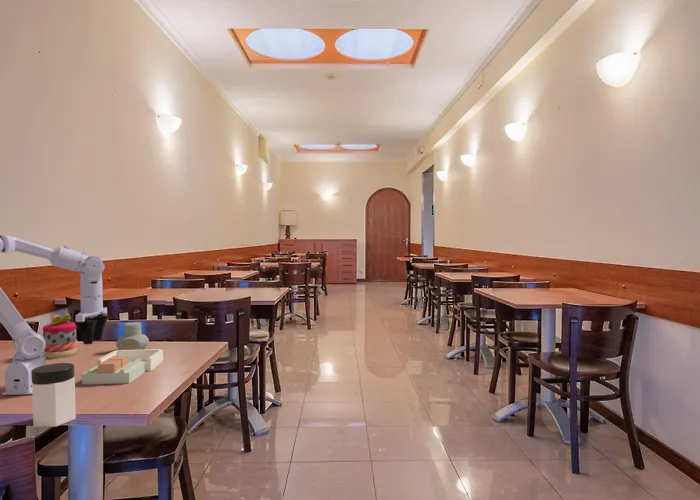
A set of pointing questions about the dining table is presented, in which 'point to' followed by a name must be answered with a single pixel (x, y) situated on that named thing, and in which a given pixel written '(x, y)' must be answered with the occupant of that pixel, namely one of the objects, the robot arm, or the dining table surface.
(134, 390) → the dining table surface
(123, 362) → the tile
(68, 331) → the cake
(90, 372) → the two-ridged green plate
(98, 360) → the box
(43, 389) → the jar
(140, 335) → the air freshener
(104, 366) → the tile
